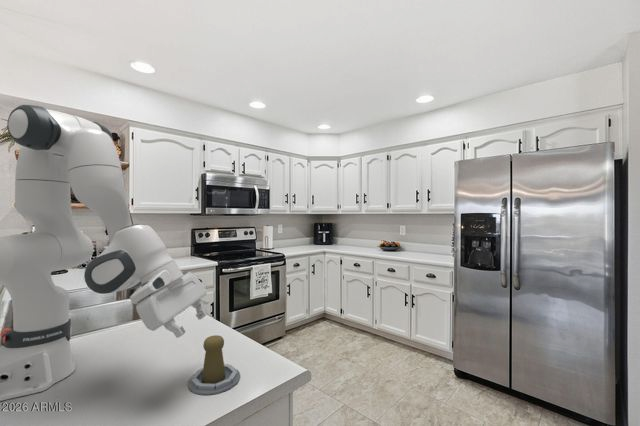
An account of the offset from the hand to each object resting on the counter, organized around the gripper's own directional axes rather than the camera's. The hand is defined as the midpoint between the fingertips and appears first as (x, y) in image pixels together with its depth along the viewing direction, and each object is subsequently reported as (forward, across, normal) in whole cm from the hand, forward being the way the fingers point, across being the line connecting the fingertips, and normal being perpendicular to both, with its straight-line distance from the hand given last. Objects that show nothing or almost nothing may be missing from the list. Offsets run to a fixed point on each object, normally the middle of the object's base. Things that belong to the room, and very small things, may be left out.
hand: (192, 326), depth 76 cm
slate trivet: (+16, -2, -5) cm, 17 cm away
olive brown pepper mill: (+15, -2, -5) cm, 16 cm away
